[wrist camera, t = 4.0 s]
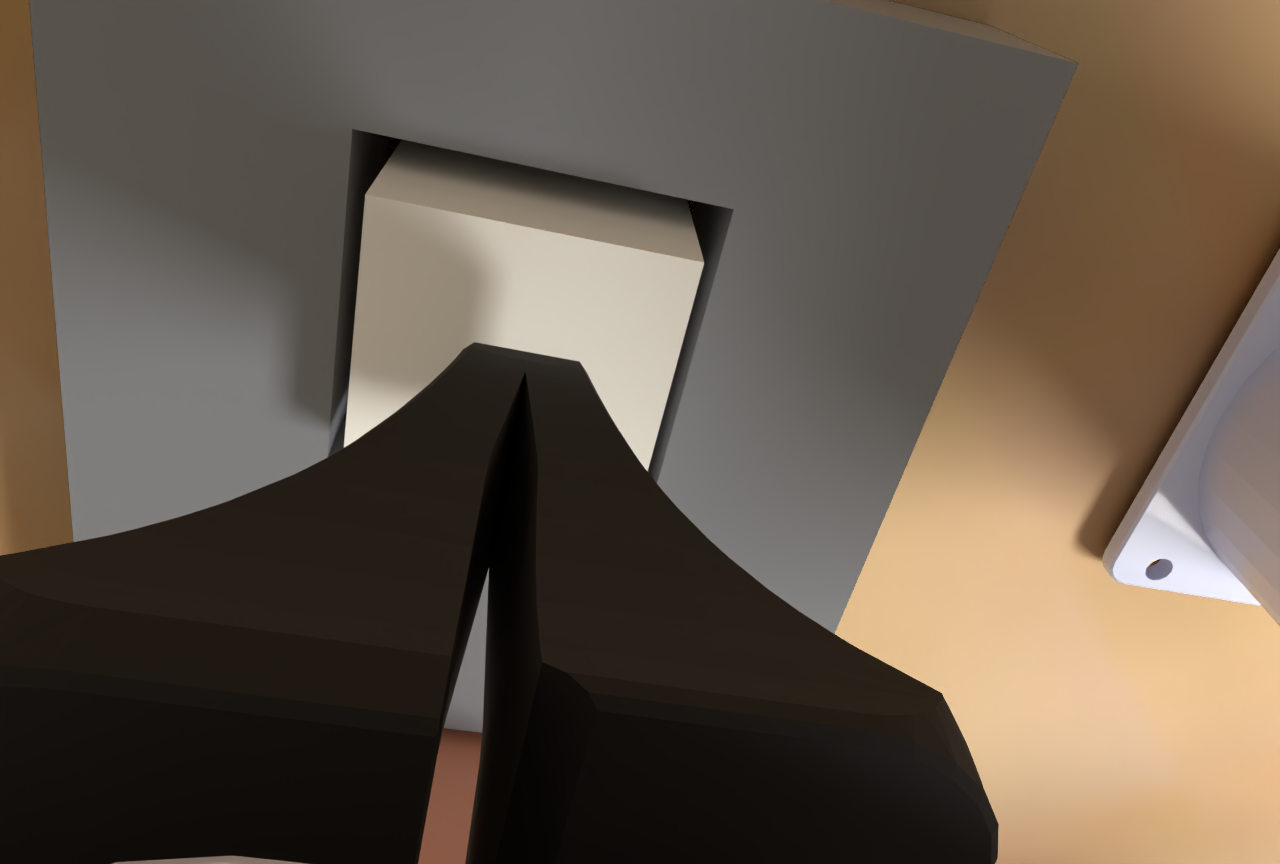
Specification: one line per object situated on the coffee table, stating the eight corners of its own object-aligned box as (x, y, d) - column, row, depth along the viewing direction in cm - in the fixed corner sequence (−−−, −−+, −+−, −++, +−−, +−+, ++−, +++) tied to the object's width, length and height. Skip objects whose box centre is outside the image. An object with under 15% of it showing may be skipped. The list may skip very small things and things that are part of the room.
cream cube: (678, 170, 15) (704, 262, 12) (624, 392, 17) (632, 528, 14) (418, 114, 15) (364, 194, 11) (393, 351, 16) (340, 482, 13)
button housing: (990, 25, 14) (1078, 62, 12) (670, 872, 24) (679, 994, 22) (131, -189, 13) (12, -201, 10) (162, 819, 22) (106, 945, 20)
